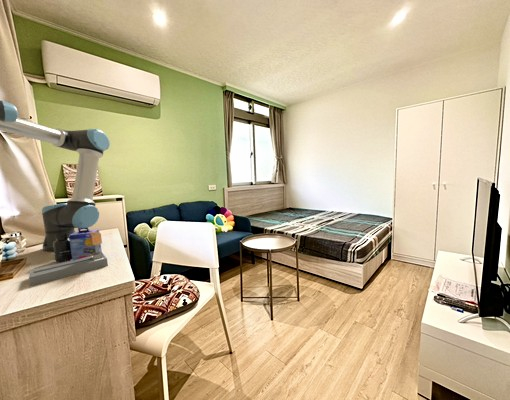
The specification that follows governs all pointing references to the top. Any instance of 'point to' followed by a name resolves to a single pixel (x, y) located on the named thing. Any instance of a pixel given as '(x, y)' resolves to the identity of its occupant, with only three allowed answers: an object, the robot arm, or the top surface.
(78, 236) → the ink cartridge box
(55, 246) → the supplement bottle
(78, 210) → the robot arm
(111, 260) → the top surface
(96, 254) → the fader
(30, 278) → the fader console
